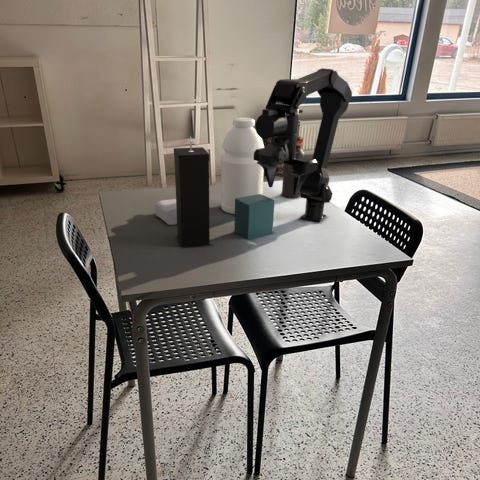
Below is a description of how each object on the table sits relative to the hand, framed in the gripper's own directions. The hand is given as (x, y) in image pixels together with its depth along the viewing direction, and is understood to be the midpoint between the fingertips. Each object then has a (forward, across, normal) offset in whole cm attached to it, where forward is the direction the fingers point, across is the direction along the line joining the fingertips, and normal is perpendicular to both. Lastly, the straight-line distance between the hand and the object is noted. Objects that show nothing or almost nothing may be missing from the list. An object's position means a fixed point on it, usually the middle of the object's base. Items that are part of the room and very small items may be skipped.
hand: (282, 190), depth 139 cm
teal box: (+8, -6, -5) cm, 11 cm away
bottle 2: (+14, -22, +31) cm, 41 cm away
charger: (+13, -33, -15) cm, 39 cm away
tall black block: (+13, -13, -22) cm, 29 cm away
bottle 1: (+13, -24, +8) cm, 28 cm away
